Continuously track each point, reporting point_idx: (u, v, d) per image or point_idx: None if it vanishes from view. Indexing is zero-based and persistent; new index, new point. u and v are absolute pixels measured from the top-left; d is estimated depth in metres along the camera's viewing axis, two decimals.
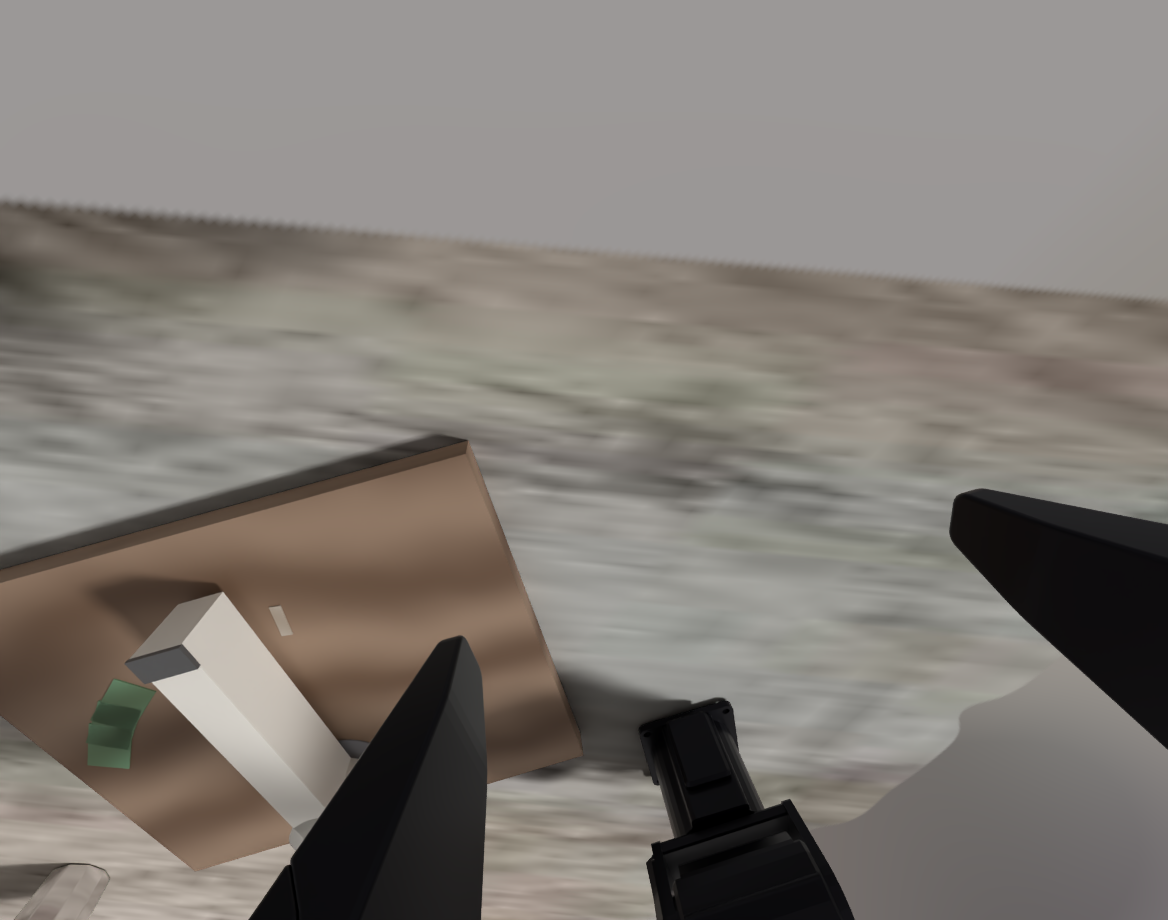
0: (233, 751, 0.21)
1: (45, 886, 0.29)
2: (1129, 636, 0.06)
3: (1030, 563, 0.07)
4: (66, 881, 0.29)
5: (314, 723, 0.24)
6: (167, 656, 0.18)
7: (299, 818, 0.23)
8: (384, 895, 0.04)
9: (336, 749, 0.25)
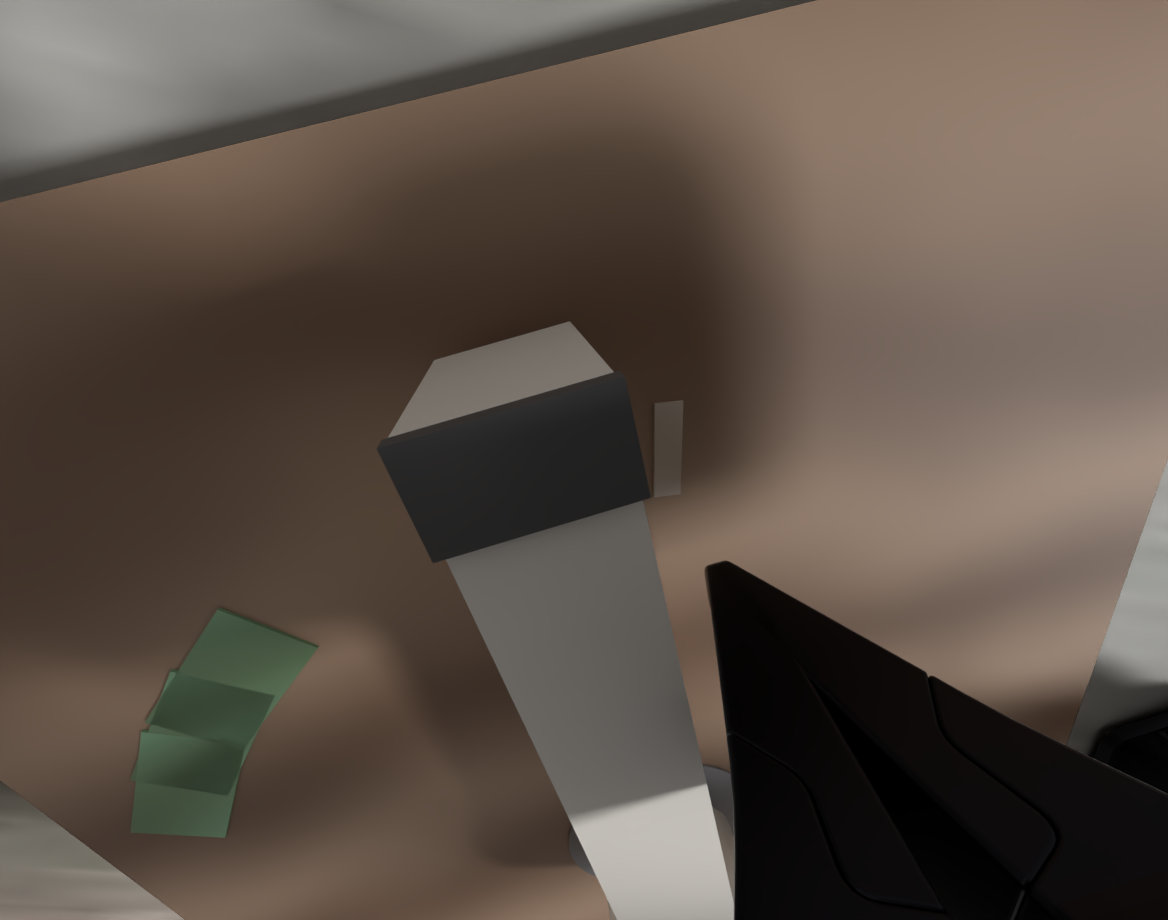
0: (607, 814, 0.07)
1: None
2: None
3: None
4: None
5: None
6: (563, 421, 0.04)
7: None
8: None
9: None
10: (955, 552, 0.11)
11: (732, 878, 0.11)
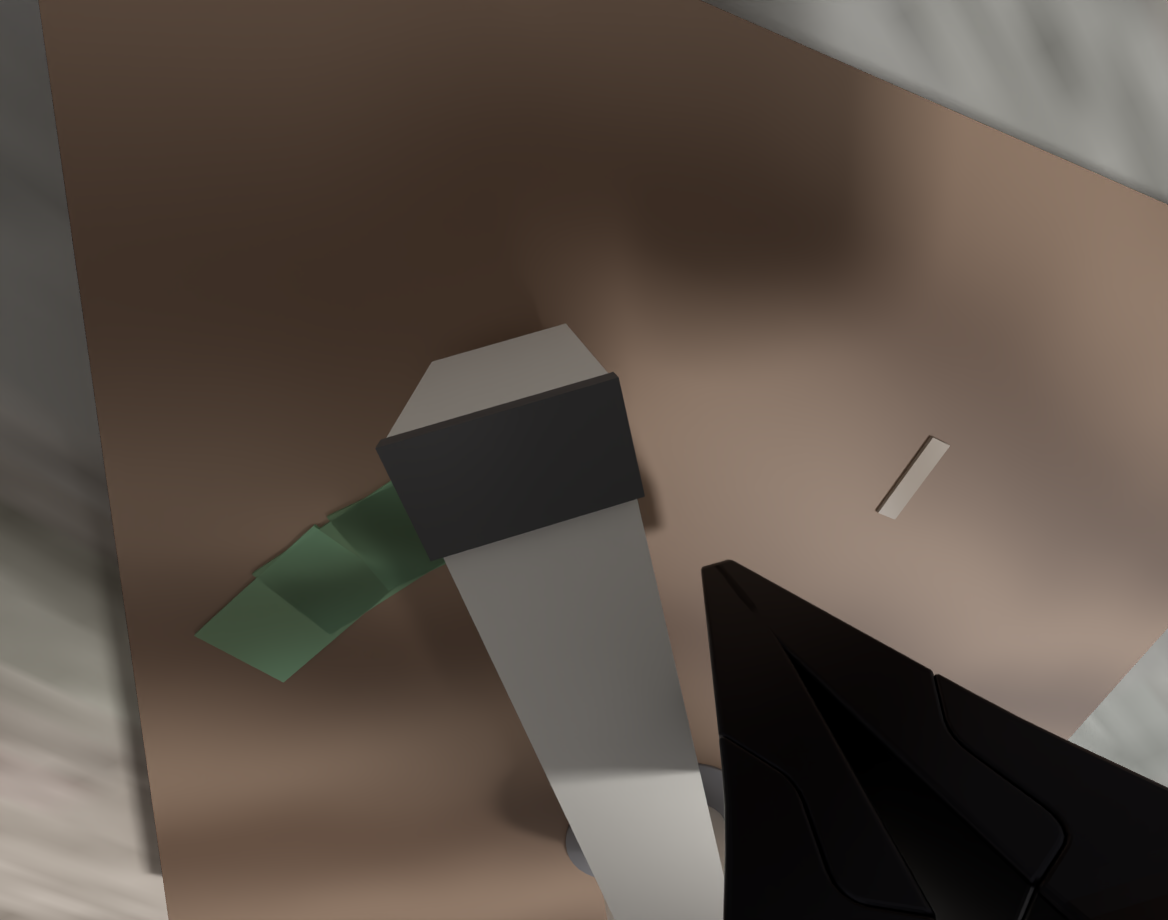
0: (604, 811, 0.07)
1: None
2: None
3: None
4: None
5: None
6: (558, 421, 0.04)
7: None
8: None
9: None
10: (1007, 658, 0.13)
11: None
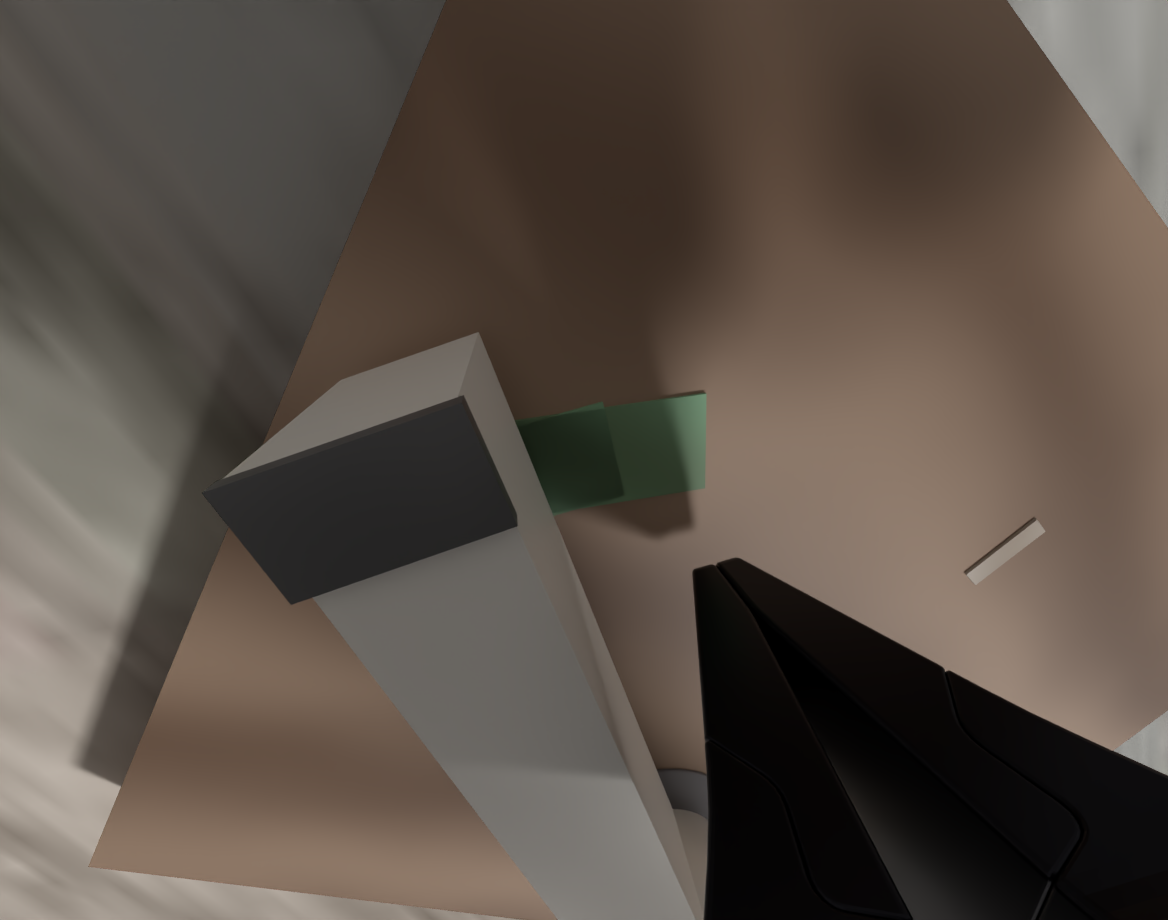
0: (543, 838, 0.07)
1: None
2: None
3: None
4: None
5: (640, 737, 0.10)
6: (402, 454, 0.04)
7: None
8: None
9: (664, 794, 0.11)
10: None
11: None
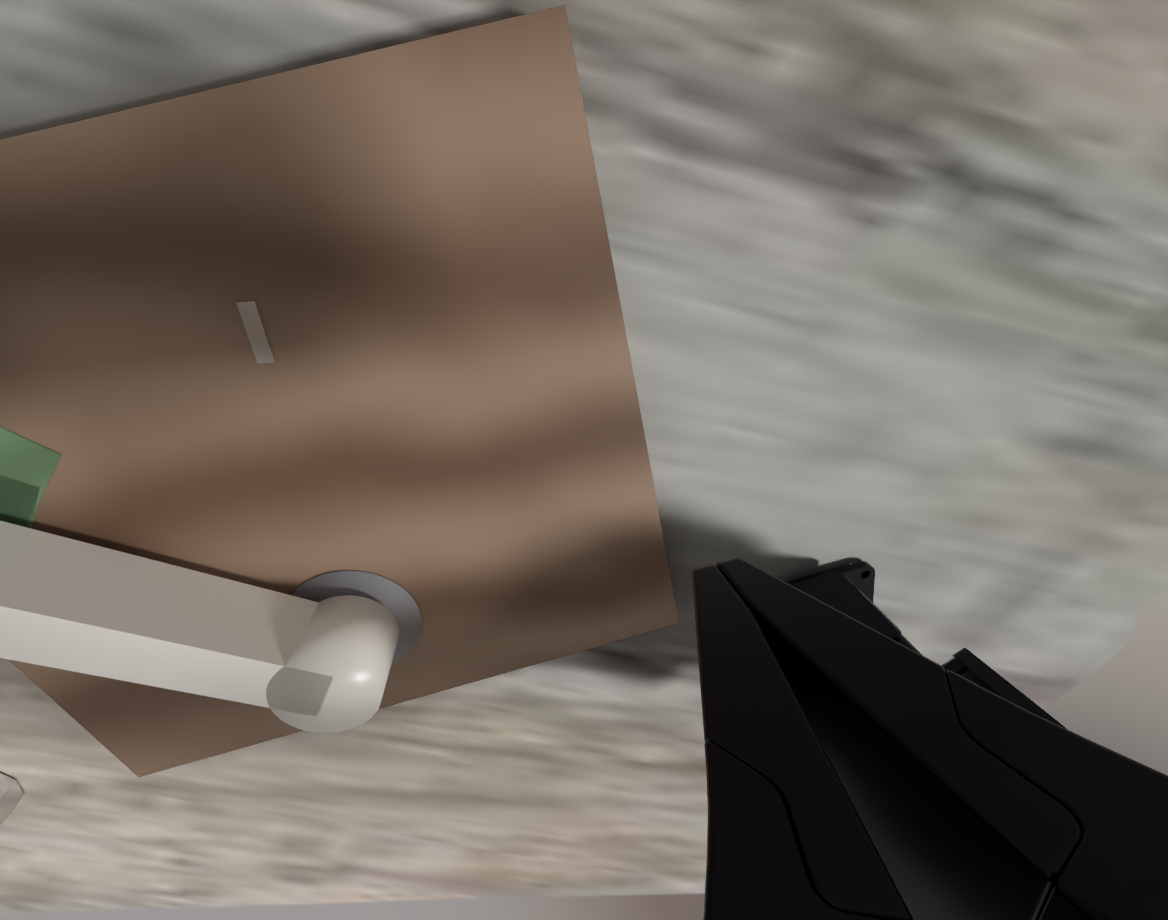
0: (38, 651, 0.14)
1: None
2: None
3: None
4: None
5: (196, 581, 0.16)
6: None
7: (253, 691, 0.15)
8: None
9: (272, 599, 0.17)
10: (497, 416, 0.16)
11: (312, 629, 0.16)
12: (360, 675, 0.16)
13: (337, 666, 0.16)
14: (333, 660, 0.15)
